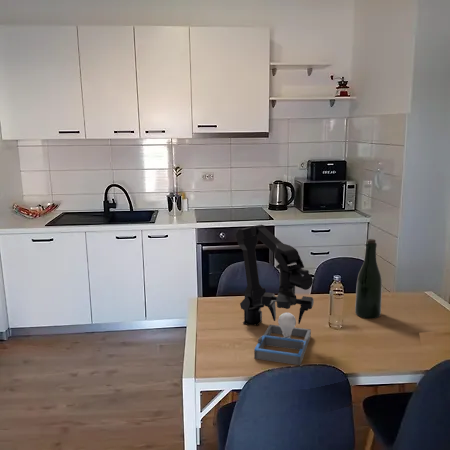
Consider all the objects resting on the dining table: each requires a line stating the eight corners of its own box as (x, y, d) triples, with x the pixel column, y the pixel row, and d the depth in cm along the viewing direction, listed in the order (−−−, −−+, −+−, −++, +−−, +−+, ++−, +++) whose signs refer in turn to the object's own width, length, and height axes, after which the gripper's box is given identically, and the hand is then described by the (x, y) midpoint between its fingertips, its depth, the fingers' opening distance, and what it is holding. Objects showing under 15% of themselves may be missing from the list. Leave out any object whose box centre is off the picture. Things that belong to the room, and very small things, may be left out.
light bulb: (295, 345, 167) (295, 317, 165) (277, 344, 169) (277, 316, 166) (296, 337, 174) (296, 310, 172) (278, 336, 175) (278, 309, 173)
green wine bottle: (374, 309, 200) (377, 236, 194) (385, 318, 190) (389, 241, 184) (351, 310, 199) (354, 237, 193) (361, 320, 189) (364, 242, 183)
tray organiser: (254, 358, 158) (254, 345, 157) (269, 331, 179) (269, 319, 178) (300, 365, 153) (300, 351, 152) (310, 336, 174) (310, 324, 173)
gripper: (257, 286, 162) (257, 327, 165) (309, 291, 156) (308, 334, 159) (264, 277, 173) (264, 316, 176) (314, 282, 167) (313, 322, 170)
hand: (286, 322), depth 170 cm, fingers open, 9 cm apart
